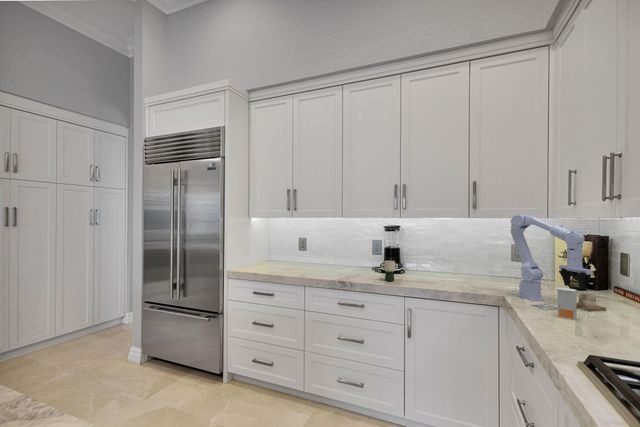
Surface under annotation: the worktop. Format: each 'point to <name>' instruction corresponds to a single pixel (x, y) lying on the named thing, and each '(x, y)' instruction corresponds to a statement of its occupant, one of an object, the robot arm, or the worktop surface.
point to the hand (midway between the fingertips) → (574, 287)
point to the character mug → (389, 269)
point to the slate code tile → (545, 307)
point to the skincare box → (566, 303)
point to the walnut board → (591, 308)
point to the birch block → (587, 300)
